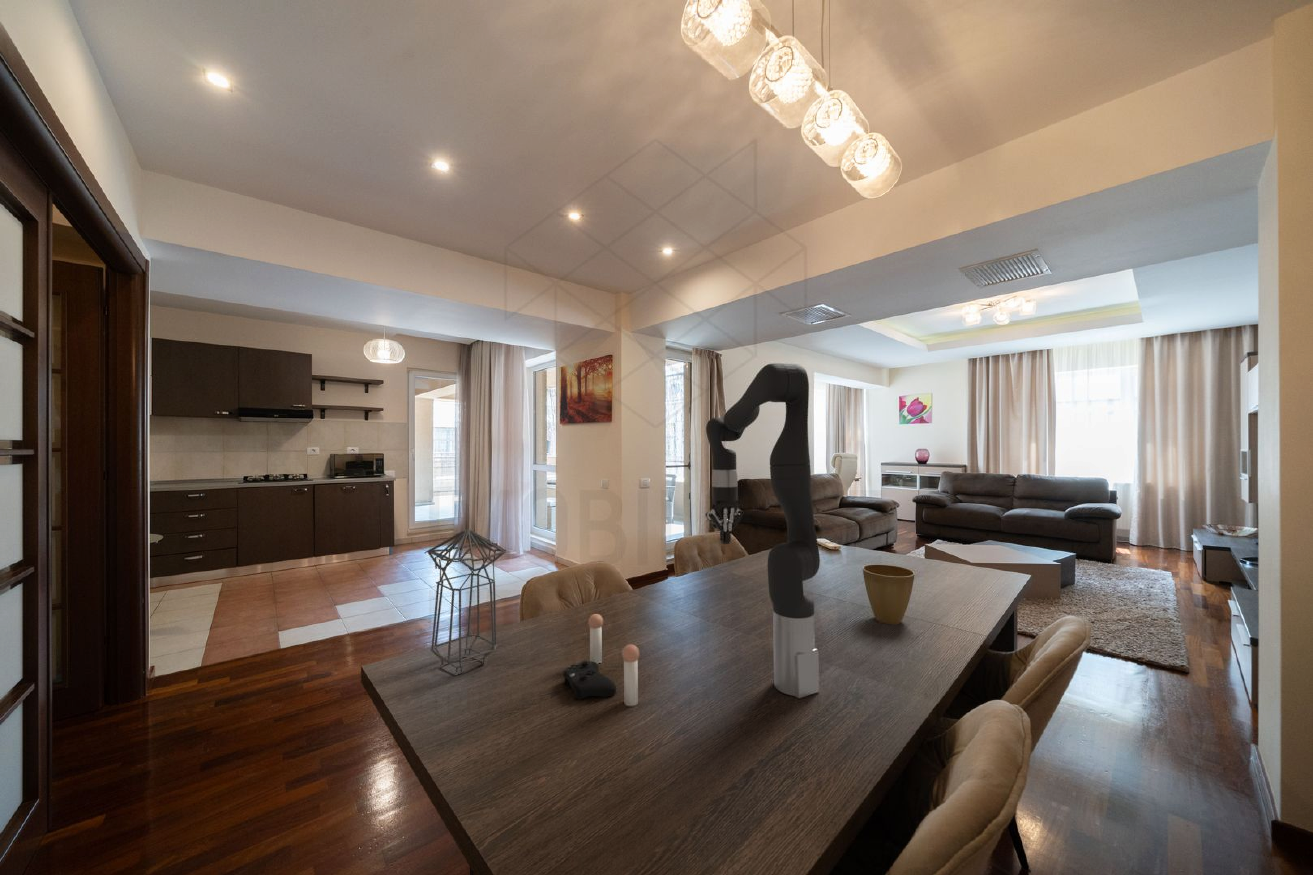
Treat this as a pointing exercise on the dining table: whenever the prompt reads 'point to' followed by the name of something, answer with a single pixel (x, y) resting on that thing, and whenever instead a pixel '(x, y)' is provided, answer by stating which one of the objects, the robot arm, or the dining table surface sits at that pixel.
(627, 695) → the posts
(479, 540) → the geometric lantern
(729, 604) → the dining table surface
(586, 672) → the gaming controller
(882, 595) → the plant pot
